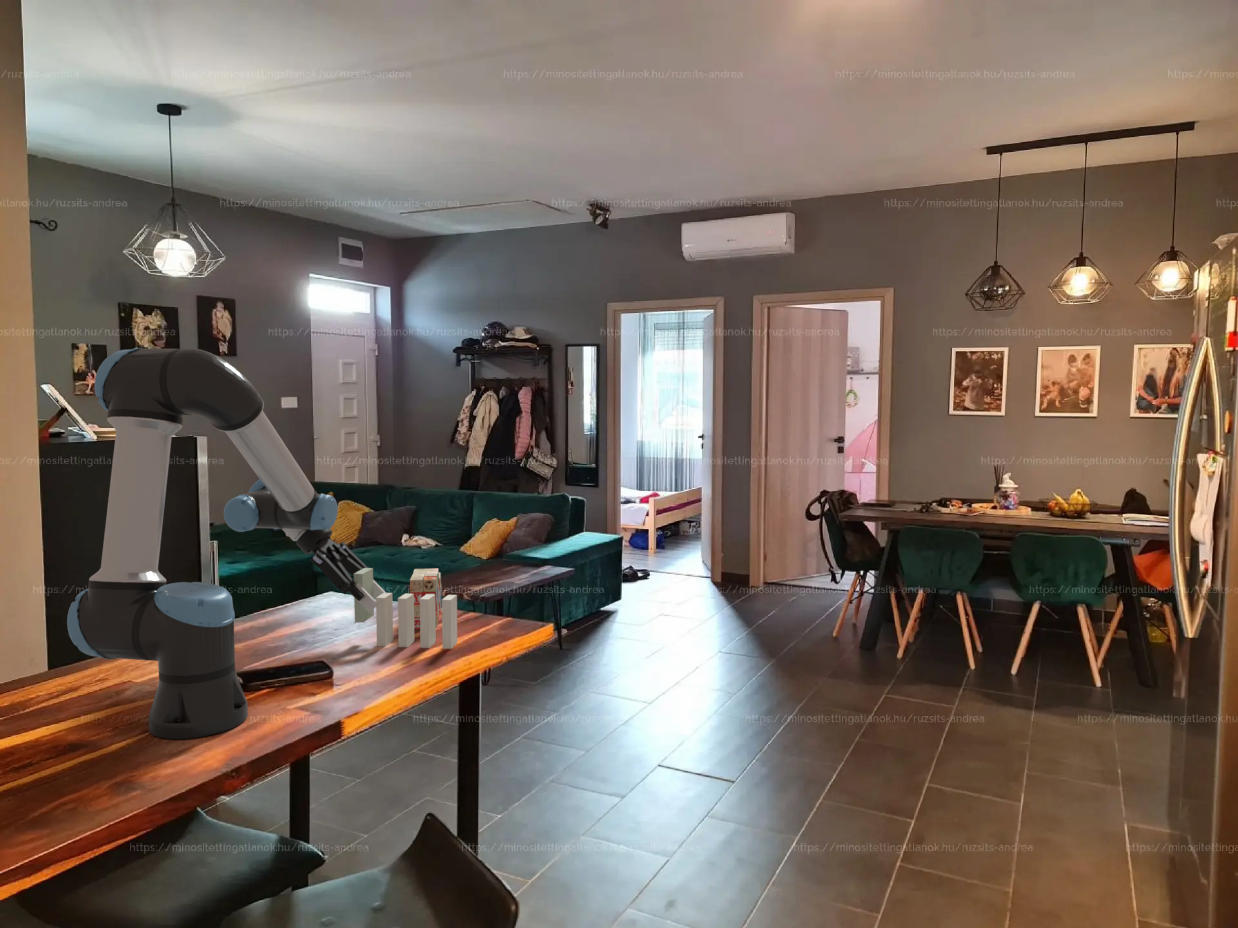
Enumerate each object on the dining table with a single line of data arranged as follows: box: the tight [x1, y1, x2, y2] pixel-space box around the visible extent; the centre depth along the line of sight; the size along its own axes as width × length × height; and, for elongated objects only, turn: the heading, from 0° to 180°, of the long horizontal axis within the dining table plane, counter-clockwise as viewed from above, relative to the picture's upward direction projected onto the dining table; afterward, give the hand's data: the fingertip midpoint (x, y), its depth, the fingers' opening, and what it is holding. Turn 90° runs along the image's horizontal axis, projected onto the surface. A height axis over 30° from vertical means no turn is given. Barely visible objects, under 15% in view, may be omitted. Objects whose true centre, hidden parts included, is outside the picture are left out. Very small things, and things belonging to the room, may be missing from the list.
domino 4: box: [441, 594, 458, 650], centre depth 187 cm, size 2×5×11 cm, turn 175°
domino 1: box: [375, 592, 394, 647], centre depth 188 cm, size 2×5×11 cm, turn 175°
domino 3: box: [419, 594, 437, 649], centre depth 187 cm, size 2×5×11 cm, turn 175°
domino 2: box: [397, 593, 415, 648], centre depth 188 cm, size 2×5×11 cm, turn 175°
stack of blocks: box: [409, 567, 442, 630], centre depth 210 cm, size 21×6×12 cm, turn 9°
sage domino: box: [353, 567, 375, 623], centre depth 189 cm, size 2×6×11 cm, turn 175°
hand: (379, 604), depth 188 cm, fingers closed on sage domino, 6 cm apart
